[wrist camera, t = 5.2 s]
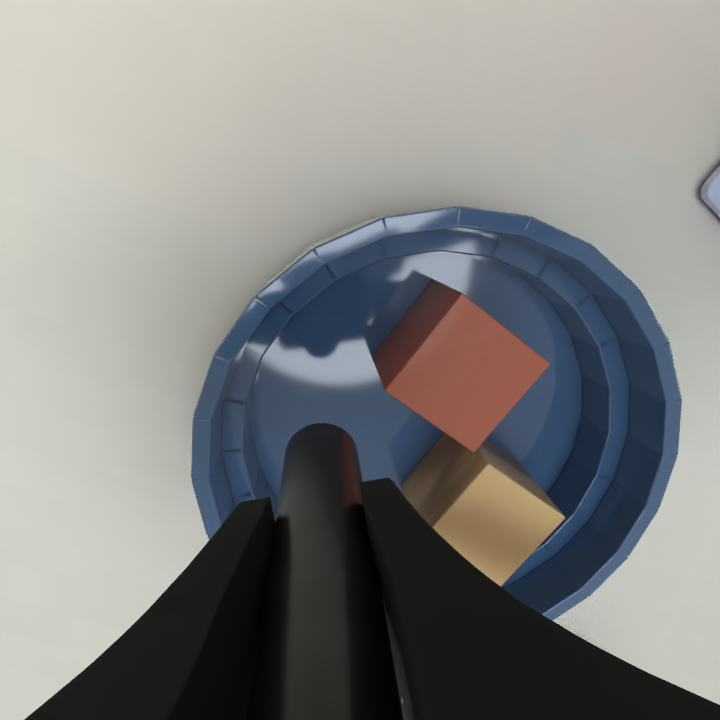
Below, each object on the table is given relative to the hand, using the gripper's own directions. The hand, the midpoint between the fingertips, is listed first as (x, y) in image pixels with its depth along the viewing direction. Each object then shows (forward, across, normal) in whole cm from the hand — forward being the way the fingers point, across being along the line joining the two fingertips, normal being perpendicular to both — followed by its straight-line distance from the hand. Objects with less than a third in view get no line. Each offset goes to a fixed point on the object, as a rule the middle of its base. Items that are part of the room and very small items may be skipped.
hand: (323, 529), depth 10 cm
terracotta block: (+10, -5, -1) cm, 11 cm away
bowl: (+10, -4, +2) cm, 11 cm away
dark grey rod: (+3, 0, 0) cm, 3 cm away
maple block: (+10, -6, +6) cm, 12 cm away
